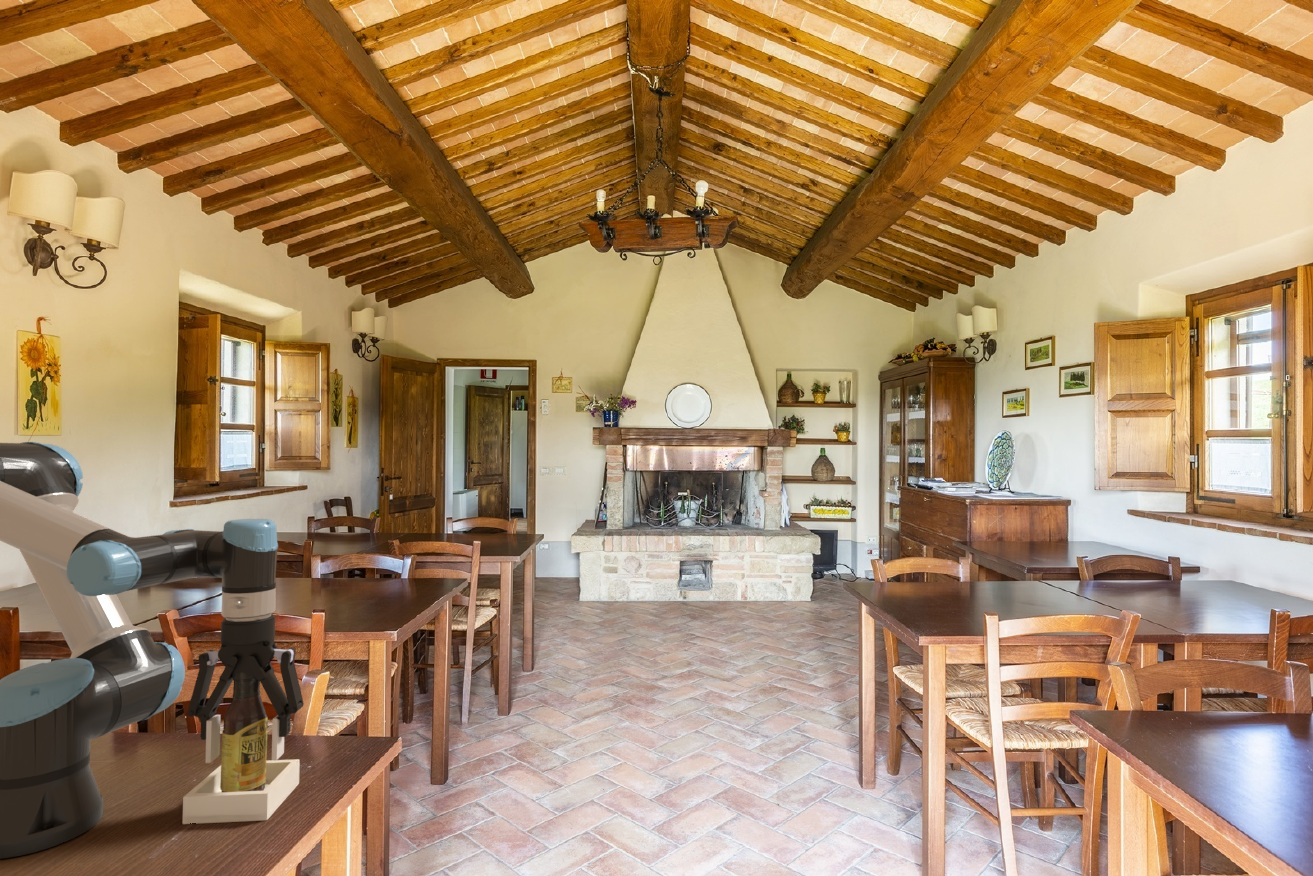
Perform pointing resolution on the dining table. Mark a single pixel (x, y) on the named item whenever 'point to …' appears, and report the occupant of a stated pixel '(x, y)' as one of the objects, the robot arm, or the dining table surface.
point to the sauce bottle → (244, 738)
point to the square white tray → (241, 796)
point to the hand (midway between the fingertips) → (245, 758)
